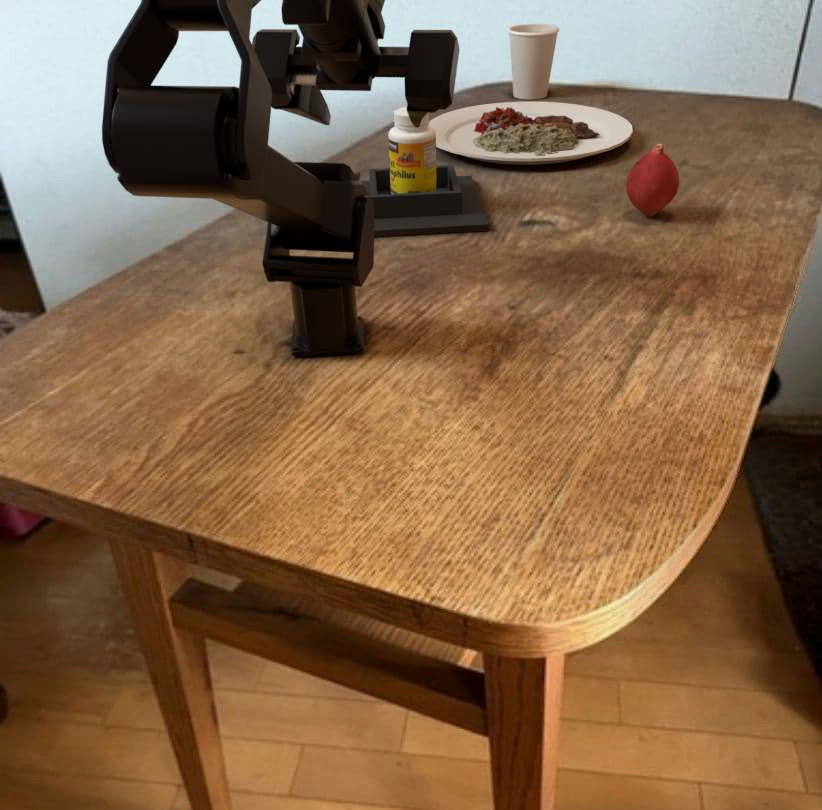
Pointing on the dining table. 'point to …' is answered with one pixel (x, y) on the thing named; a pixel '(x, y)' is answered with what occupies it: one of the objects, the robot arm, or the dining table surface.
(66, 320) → the dining table surface
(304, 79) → the robot arm
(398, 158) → the supplement bottle
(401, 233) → the dock pad
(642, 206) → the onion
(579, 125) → the plated food
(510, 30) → the dixie cup
